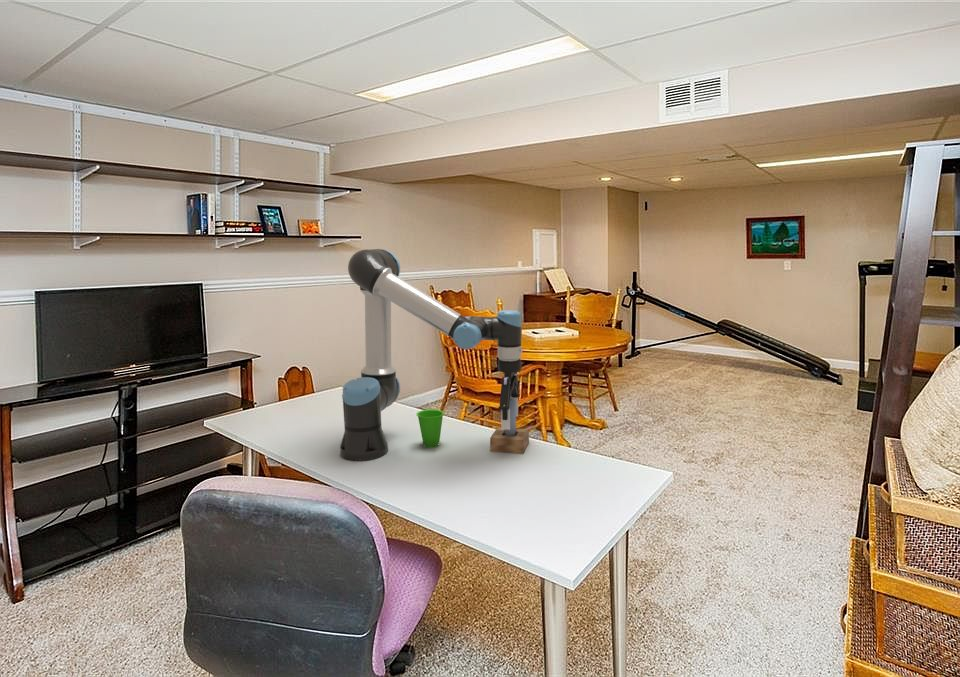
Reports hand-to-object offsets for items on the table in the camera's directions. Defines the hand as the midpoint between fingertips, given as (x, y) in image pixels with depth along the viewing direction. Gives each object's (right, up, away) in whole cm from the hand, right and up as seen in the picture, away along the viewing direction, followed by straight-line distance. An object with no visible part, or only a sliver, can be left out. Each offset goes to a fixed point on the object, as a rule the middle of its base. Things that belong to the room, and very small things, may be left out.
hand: (509, 422), depth 181 cm
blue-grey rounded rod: (0, -8, +1) cm, 8 cm away
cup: (-26, -8, +4) cm, 28 cm away
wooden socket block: (0, -8, +1) cm, 8 cm away
